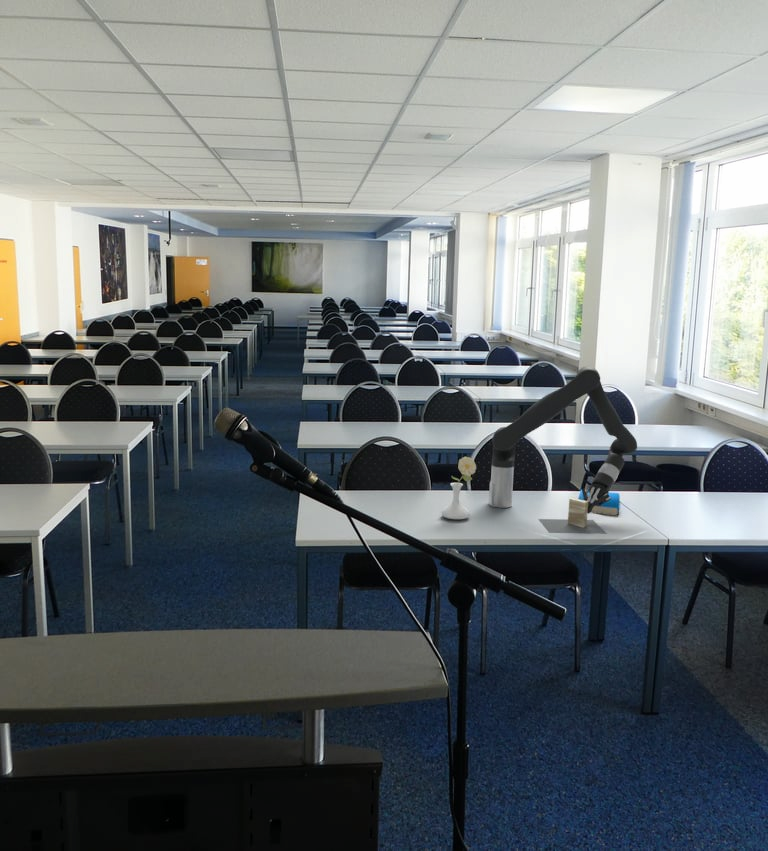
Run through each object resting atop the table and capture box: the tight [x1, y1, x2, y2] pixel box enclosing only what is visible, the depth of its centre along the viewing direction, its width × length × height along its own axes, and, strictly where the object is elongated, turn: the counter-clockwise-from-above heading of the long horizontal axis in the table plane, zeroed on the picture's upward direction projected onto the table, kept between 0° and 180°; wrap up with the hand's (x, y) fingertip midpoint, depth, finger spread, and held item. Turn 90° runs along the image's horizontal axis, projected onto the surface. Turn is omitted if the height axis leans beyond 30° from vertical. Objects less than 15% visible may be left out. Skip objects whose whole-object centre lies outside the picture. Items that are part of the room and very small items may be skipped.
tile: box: [567, 497, 588, 528], centre depth 304 cm, size 2×7×10 cm, turn 41°
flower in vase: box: [440, 456, 477, 520], centre depth 311 cm, size 13×11×25 cm
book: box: [577, 489, 621, 516], centre depth 337 cm, size 17×4×25 cm
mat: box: [538, 518, 608, 535], centre depth 304 cm, size 22×18×1 cm
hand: (586, 512), depth 308 cm, fingers closed
